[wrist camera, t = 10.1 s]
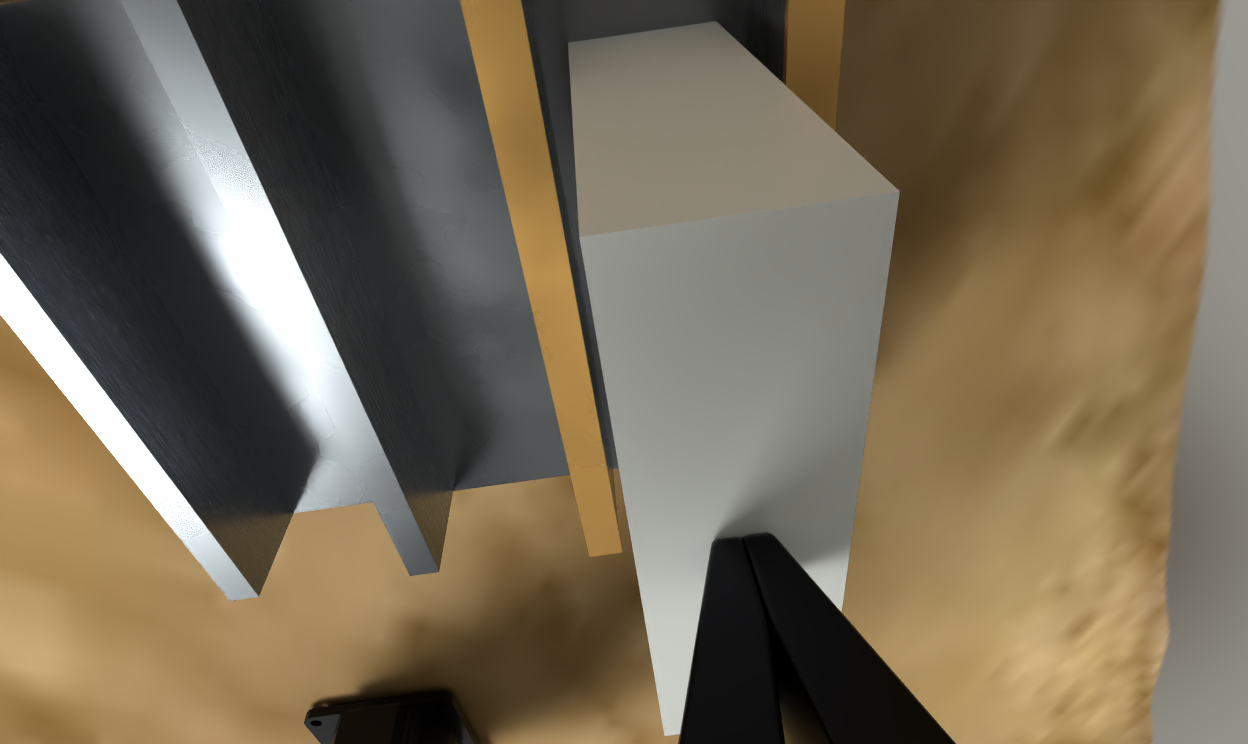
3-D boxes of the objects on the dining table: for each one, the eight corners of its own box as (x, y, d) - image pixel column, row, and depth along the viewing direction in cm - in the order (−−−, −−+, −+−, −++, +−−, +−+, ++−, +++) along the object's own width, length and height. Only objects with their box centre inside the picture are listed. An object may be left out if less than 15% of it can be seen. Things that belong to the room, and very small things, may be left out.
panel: (727, 402, 19) (827, 713, 12) (625, 416, 19) (664, 735, 12) (715, 21, 13) (900, 191, 6) (568, 42, 13) (578, 236, 6)
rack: (768, 424, 21) (807, 527, 18) (275, 493, 22) (223, 607, 18) (779, -111, 13) (856, -105, 10) (-30, 6, 13) (-233, 50, 10)
